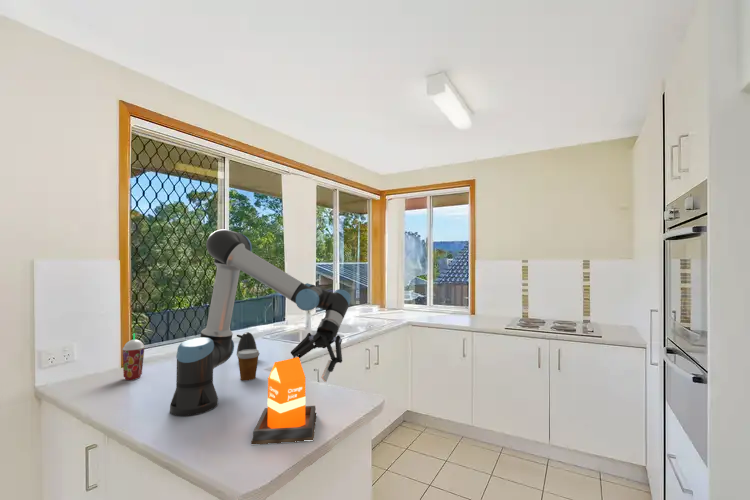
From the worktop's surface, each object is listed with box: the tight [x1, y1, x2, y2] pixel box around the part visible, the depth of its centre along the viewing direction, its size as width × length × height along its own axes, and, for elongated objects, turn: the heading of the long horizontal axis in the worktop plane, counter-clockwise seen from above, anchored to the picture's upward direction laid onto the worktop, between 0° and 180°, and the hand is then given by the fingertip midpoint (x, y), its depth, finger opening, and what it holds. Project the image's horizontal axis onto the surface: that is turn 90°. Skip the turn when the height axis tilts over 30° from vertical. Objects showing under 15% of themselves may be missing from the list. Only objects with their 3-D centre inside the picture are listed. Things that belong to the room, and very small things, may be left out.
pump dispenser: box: [236, 331, 258, 358], centre depth 185 cm, size 10×10×15 cm
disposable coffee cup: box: [236, 349, 260, 382], centre depth 156 cm, size 10×10×12 cm
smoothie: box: [121, 333, 146, 381], centre depth 157 cm, size 8×8×20 cm
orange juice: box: [267, 357, 307, 429], centre depth 108 cm, size 8×9×20 cm
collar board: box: [250, 405, 317, 445], centre depth 107 cm, size 17×17×4 cm
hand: (306, 377), depth 117 cm, fingers open, 13 cm apart
